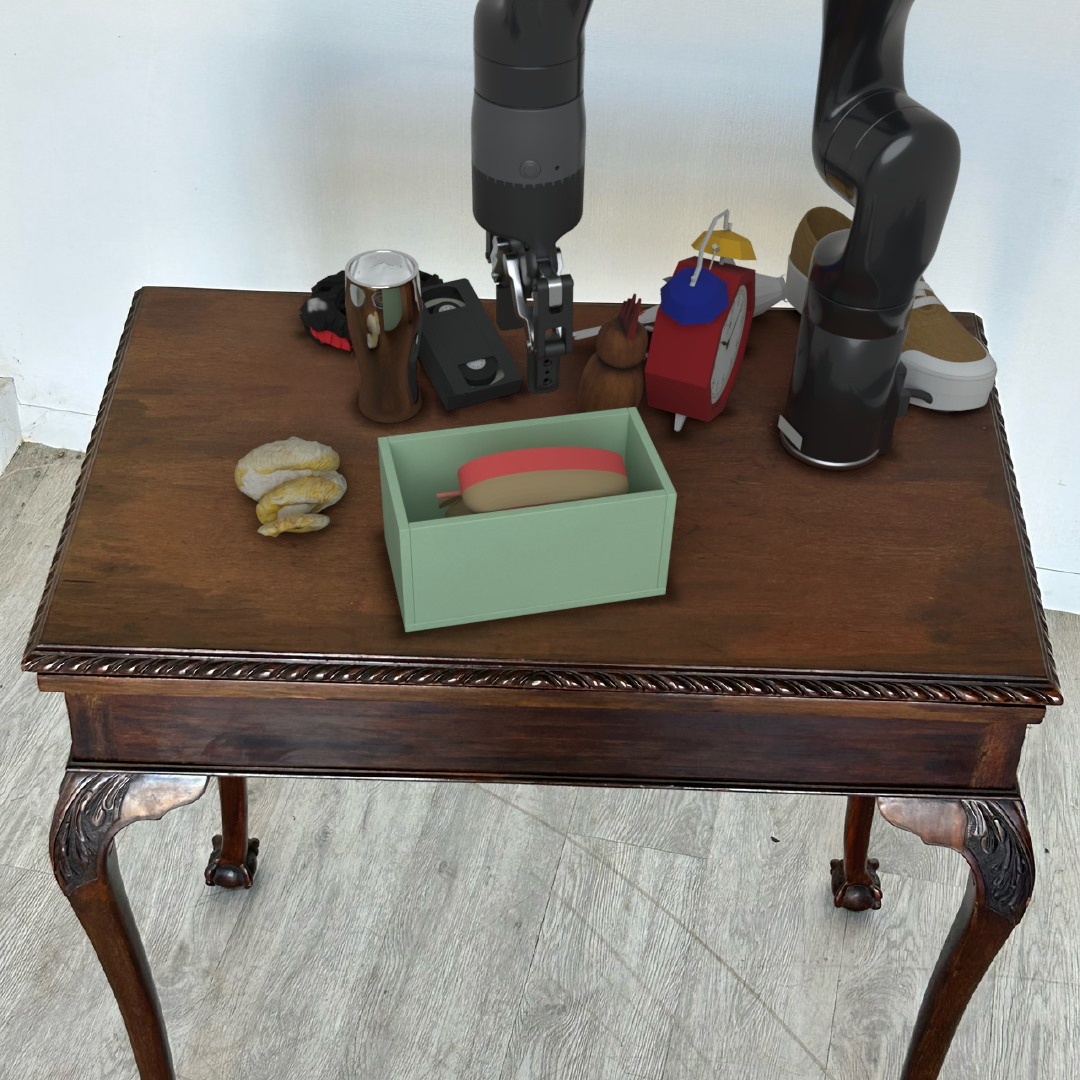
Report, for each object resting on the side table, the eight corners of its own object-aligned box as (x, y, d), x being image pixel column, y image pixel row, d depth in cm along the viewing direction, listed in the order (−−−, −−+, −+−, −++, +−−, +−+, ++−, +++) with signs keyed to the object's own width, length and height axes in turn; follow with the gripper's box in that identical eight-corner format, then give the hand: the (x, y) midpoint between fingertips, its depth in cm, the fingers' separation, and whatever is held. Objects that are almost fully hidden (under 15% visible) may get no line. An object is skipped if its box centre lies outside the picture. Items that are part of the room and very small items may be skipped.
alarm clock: (701, 454, 127) (725, 264, 113) (613, 430, 129) (627, 241, 116) (747, 371, 137) (775, 187, 123) (665, 350, 139) (684, 168, 126)
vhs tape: (521, 391, 134) (524, 378, 132) (446, 411, 131) (448, 397, 129) (465, 291, 140) (467, 276, 139) (393, 307, 138) (393, 293, 136)
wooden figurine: (626, 453, 127) (662, 314, 117) (566, 438, 127) (597, 297, 117) (636, 413, 132) (672, 277, 122) (578, 399, 132) (609, 261, 122)
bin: (627, 505, 121) (635, 406, 114) (665, 594, 113) (677, 493, 106) (384, 537, 117) (377, 437, 110) (405, 632, 109) (399, 530, 102)
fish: (798, 237, 139) (744, 241, 148) (576, 287, 130) (533, 288, 139) (811, 335, 142) (758, 333, 151) (594, 391, 133) (551, 386, 141)
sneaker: (927, 432, 129) (956, 340, 123) (755, 288, 148) (772, 202, 142) (1007, 411, 133) (1039, 321, 127) (829, 273, 152) (849, 189, 146)
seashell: (358, 401, 122) (314, 501, 110) (371, 457, 125) (330, 559, 114) (252, 404, 124) (198, 503, 112) (268, 460, 127) (218, 560, 116)
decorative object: (607, 547, 117) (434, 570, 113) (597, 507, 118) (426, 528, 115) (647, 481, 104) (455, 504, 101) (635, 436, 106) (445, 457, 102)
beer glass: (409, 433, 128) (402, 294, 118) (341, 417, 130) (329, 279, 120) (437, 392, 133) (433, 256, 123) (371, 377, 135) (362, 242, 125)
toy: (361, 260, 151) (359, 236, 149) (486, 298, 146) (486, 274, 144) (271, 335, 140) (268, 309, 138) (403, 379, 135) (402, 353, 133)
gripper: (616, 196, 86) (604, 405, 97) (552, 101, 96) (548, 300, 107) (500, 210, 84) (502, 422, 95) (447, 113, 94) (454, 314, 105)
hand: (526, 357), depth 101 cm, fingers open, 8 cm apart
